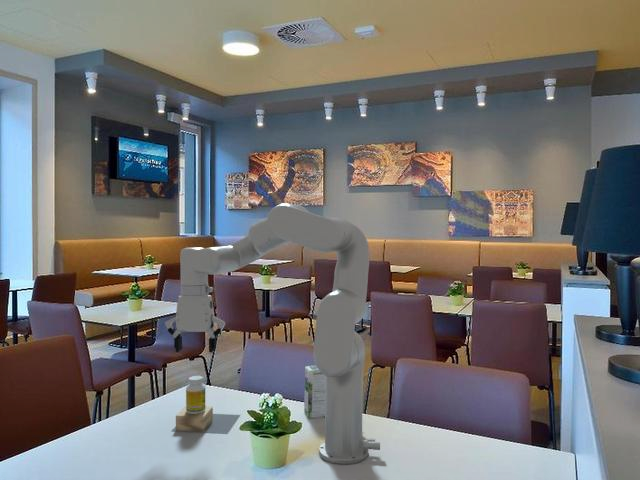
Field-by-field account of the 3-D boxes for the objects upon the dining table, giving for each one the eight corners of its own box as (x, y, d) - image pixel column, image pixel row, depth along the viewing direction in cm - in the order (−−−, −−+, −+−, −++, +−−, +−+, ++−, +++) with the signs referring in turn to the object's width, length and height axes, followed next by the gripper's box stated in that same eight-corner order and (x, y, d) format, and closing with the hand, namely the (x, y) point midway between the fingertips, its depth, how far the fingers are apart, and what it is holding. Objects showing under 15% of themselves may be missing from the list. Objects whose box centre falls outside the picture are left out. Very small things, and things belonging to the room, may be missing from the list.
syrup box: (303, 412, 158) (303, 366, 157) (321, 410, 159) (321, 364, 159) (308, 418, 152) (308, 371, 152) (327, 416, 154) (327, 369, 154)
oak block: (212, 420, 148) (212, 406, 148) (203, 431, 140) (203, 416, 140) (186, 419, 148) (186, 405, 148) (175, 430, 141) (175, 415, 140)
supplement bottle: (186, 408, 146) (186, 375, 146) (205, 407, 147) (205, 374, 147) (185, 415, 141) (185, 381, 141) (205, 413, 142) (205, 379, 142)
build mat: (240, 418, 152) (240, 414, 152) (227, 438, 138) (227, 433, 138) (188, 416, 154) (188, 412, 154) (170, 435, 140) (170, 431, 140)
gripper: (228, 289, 146) (228, 348, 146) (170, 289, 148) (171, 347, 148) (220, 292, 139) (221, 355, 139) (159, 292, 140) (160, 354, 141)
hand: (195, 351), depth 144 cm, fingers open, 9 cm apart
